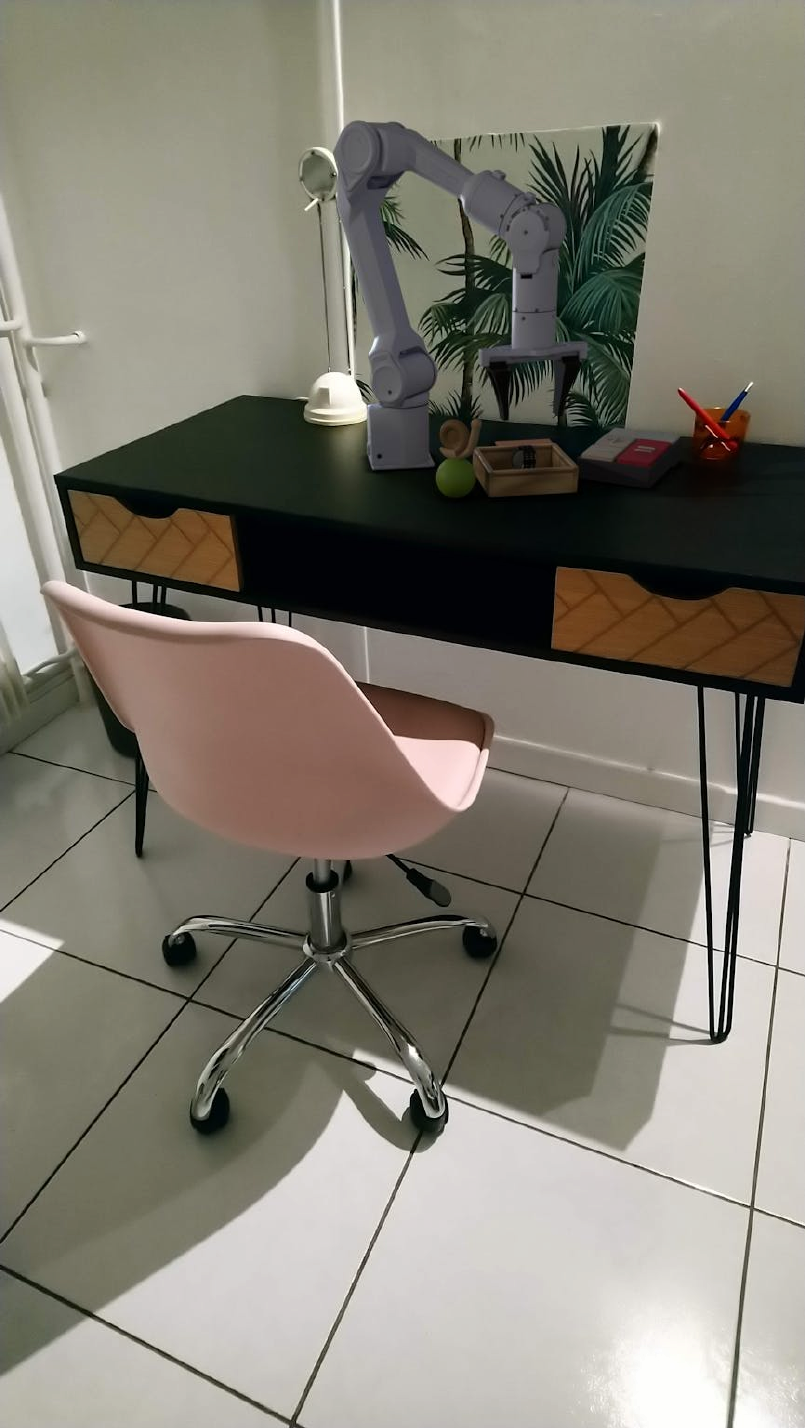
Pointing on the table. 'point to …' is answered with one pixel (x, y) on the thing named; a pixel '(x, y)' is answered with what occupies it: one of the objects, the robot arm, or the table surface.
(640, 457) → the grey and red box
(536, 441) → the coaster
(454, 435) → the snail figurine
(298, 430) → the table surface
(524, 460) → the smartwatch
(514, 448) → the wooden box
